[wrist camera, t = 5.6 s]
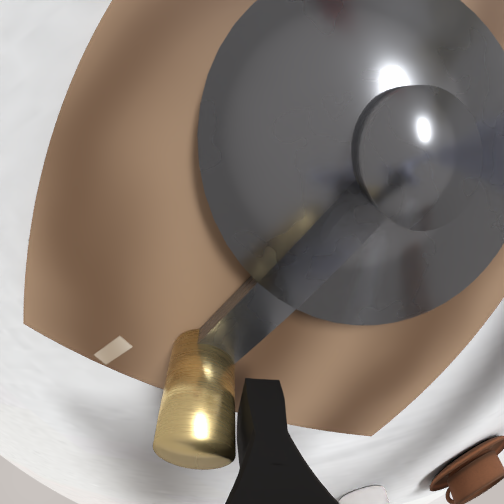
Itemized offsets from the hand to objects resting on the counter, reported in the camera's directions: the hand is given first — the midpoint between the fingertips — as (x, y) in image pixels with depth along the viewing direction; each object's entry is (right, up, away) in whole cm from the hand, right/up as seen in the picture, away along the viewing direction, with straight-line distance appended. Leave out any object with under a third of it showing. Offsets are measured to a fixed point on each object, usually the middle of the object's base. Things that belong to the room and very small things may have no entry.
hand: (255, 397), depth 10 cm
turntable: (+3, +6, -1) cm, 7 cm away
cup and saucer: (+27, -21, +16) cm, 38 cm away
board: (+4, +9, 0) cm, 10 cm away
